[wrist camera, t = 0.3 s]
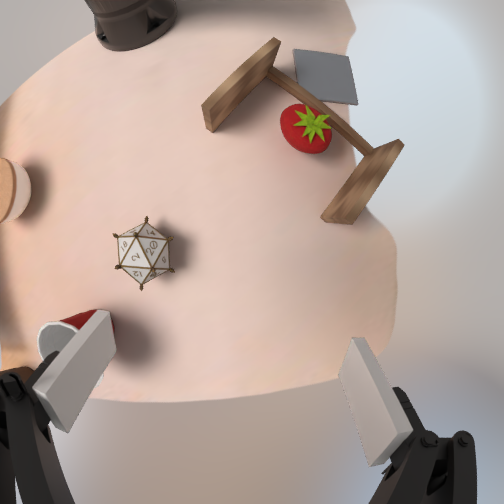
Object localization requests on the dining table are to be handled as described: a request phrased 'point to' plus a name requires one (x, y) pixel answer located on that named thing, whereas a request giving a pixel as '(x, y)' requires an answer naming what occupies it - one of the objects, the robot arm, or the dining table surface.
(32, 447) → the robot arm
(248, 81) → the wooden crossbar stand
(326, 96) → the pad
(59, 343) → the plastic cup
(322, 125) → the strawberry
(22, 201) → the lidded jar
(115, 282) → the dining table surface
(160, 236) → the game die
